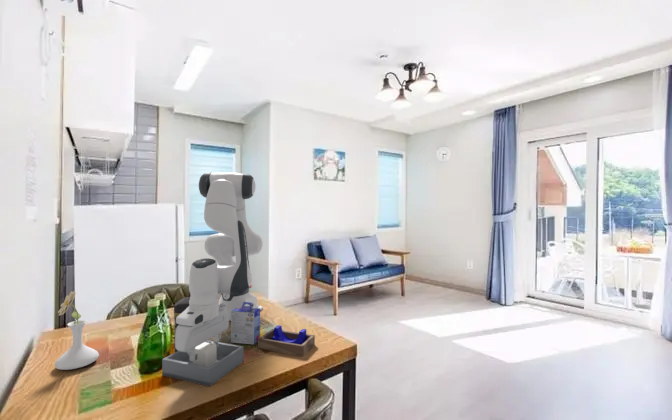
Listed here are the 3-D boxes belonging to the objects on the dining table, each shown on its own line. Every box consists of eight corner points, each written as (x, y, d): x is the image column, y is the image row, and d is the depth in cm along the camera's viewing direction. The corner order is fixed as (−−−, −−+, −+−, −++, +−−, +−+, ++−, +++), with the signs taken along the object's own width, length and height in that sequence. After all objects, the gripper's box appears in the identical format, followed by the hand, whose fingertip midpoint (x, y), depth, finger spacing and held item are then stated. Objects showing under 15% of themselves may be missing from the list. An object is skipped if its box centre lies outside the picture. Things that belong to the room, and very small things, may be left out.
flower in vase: (61, 360, 109) (60, 286, 109) (102, 354, 114) (102, 282, 114) (46, 379, 98) (45, 296, 97) (92, 371, 102) (91, 292, 102)
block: (204, 360, 108) (204, 342, 108) (216, 362, 106) (216, 344, 106) (192, 367, 103) (192, 348, 103) (205, 369, 101) (205, 350, 101)
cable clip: (271, 345, 122) (271, 329, 122) (278, 340, 126) (278, 325, 126) (301, 350, 118) (301, 333, 118) (306, 345, 122) (306, 329, 122)
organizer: (272, 337, 128) (272, 329, 128) (314, 344, 122) (314, 335, 122) (258, 348, 119) (258, 338, 119) (302, 356, 112) (302, 346, 112)
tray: (200, 352, 115) (200, 338, 115) (243, 361, 109) (243, 346, 109) (162, 375, 100) (162, 359, 100) (209, 386, 94) (209, 369, 94)
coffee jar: (178, 345, 121) (178, 295, 121) (201, 343, 123) (201, 294, 122) (171, 357, 112) (170, 303, 111) (196, 355, 113) (195, 302, 113)
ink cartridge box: (261, 339, 127) (261, 302, 127) (254, 345, 121) (254, 306, 121) (237, 337, 129) (237, 300, 129) (230, 343, 123) (230, 304, 123)
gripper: (218, 300, 115) (218, 339, 115) (171, 320, 96) (171, 366, 96) (233, 302, 113) (233, 342, 113) (187, 322, 94) (188, 370, 94)
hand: (204, 353), depth 104 cm, fingers open, 8 cm apart
